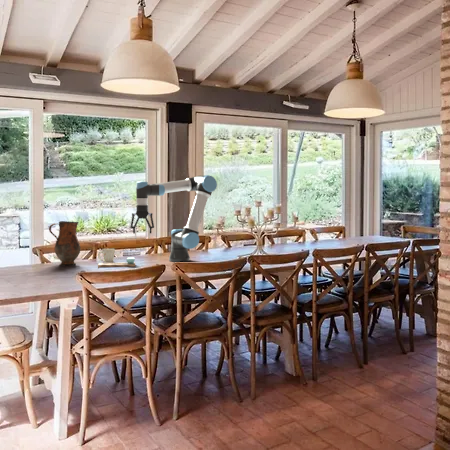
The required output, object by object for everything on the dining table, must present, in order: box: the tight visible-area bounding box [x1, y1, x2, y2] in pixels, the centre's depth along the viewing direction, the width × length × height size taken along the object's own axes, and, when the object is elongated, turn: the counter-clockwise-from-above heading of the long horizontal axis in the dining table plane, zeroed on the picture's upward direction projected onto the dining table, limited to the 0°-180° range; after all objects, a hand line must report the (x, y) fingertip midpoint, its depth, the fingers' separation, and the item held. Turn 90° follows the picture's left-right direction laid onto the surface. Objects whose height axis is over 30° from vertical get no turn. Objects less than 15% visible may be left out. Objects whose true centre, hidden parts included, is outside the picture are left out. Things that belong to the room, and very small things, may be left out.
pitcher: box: [48, 220, 81, 267], centre depth 345 cm, size 17×21×30 cm
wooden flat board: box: [97, 261, 136, 269], centre depth 338 cm, size 24×9×3 cm, turn 98°
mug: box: [97, 248, 116, 263], centre depth 355 cm, size 8×13×10 cm, turn 78°
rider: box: [126, 257, 135, 264], centre depth 339 cm, size 5×6×5 cm
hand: (142, 238), depth 339 cm, fingers open, 8 cm apart
